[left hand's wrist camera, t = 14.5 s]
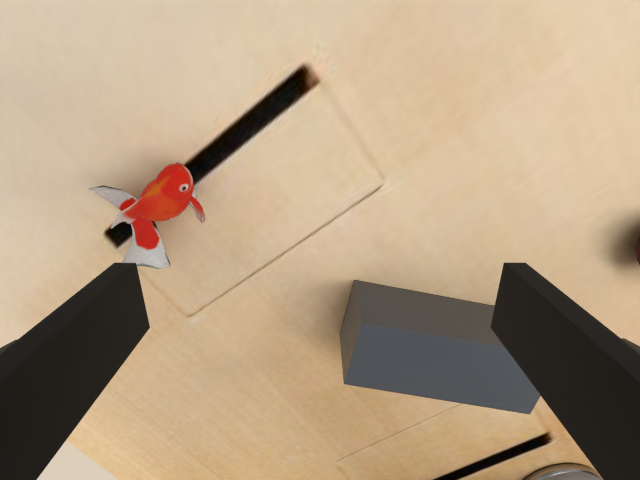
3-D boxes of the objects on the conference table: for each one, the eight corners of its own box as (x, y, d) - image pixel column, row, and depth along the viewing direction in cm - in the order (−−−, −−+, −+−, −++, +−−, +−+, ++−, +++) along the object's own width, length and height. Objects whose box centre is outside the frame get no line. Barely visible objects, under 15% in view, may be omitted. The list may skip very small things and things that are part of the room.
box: (339, 333, 50) (343, 384, 41) (354, 279, 46) (362, 322, 38) (493, 360, 51) (530, 414, 42) (518, 310, 48) (562, 357, 39)
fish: (248, 234, 39) (169, 259, 31) (174, 268, 48) (97, 295, 40) (211, 143, 39) (121, 144, 30) (143, 195, 48) (59, 207, 39)
